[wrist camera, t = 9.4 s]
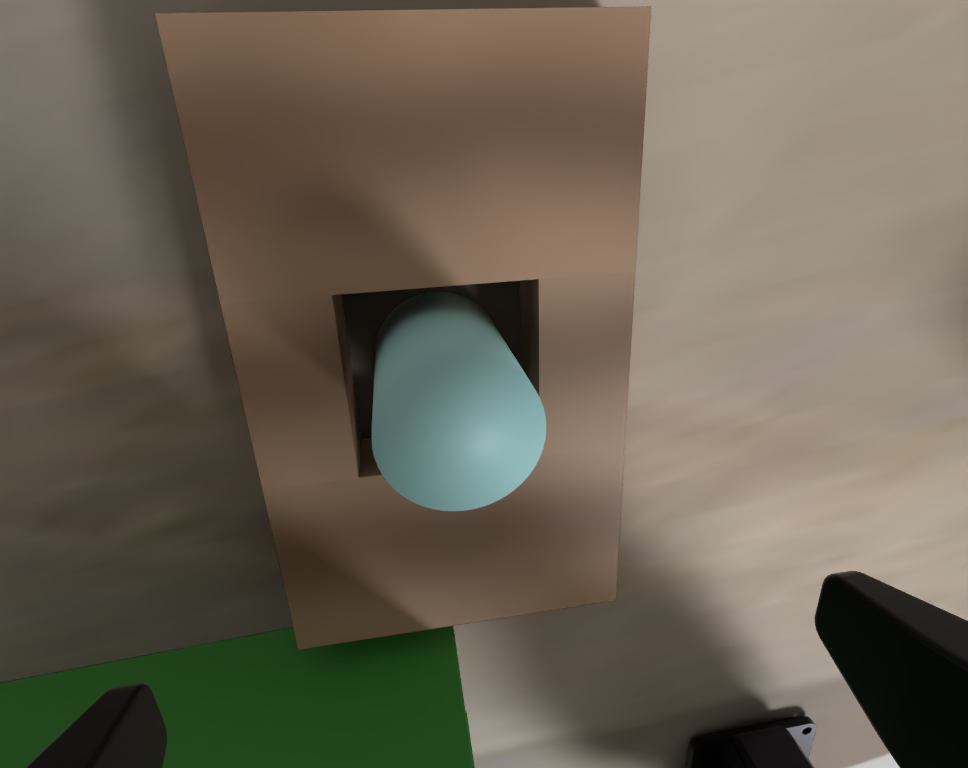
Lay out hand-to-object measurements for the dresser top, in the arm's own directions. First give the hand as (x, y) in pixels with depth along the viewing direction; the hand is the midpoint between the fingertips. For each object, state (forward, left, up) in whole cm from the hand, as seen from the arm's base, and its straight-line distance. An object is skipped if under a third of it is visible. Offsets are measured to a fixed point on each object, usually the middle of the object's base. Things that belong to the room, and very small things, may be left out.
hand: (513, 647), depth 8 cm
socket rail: (0, 0, -12) cm, 12 cm away
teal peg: (0, 0, -12) cm, 12 cm away
